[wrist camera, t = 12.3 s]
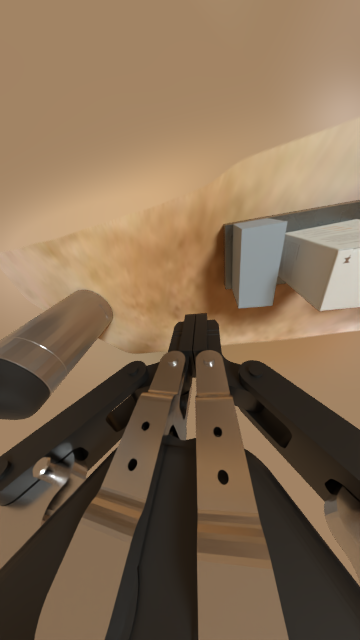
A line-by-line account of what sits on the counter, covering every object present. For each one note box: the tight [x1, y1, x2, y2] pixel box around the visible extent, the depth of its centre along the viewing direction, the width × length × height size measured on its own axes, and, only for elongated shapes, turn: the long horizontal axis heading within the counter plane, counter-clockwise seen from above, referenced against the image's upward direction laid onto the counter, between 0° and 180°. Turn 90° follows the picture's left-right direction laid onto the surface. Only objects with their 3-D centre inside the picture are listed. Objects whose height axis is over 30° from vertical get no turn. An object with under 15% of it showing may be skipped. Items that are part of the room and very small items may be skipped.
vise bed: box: [224, 200, 360, 289], centre depth 19 cm, size 23×9×8 cm, turn 100°
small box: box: [278, 219, 360, 311], centre depth 17 cm, size 8×6×10 cm
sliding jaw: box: [232, 218, 287, 308], centre depth 20 cm, size 4×9×6 cm, turn 10°
